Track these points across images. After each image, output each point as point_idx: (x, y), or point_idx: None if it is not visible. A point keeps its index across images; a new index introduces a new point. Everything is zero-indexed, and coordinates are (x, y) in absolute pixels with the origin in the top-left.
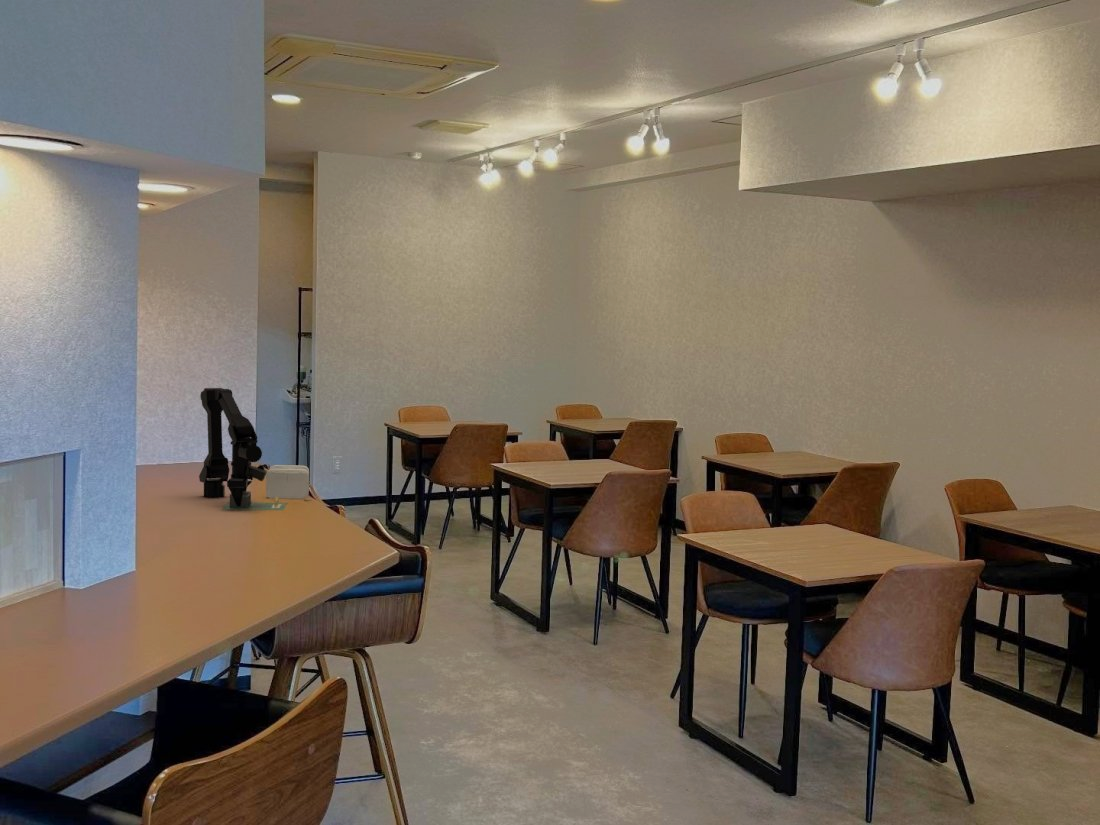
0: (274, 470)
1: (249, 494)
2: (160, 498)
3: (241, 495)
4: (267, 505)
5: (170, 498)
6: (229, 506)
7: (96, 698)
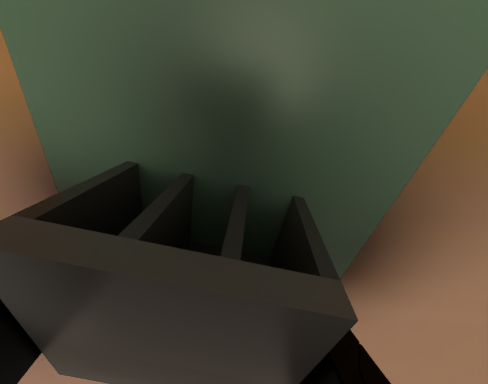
0: None
1: (169, 259)
2: (47, 376)
3: (378, 375)
4: None
5: (36, 365)
6: None
7: None
